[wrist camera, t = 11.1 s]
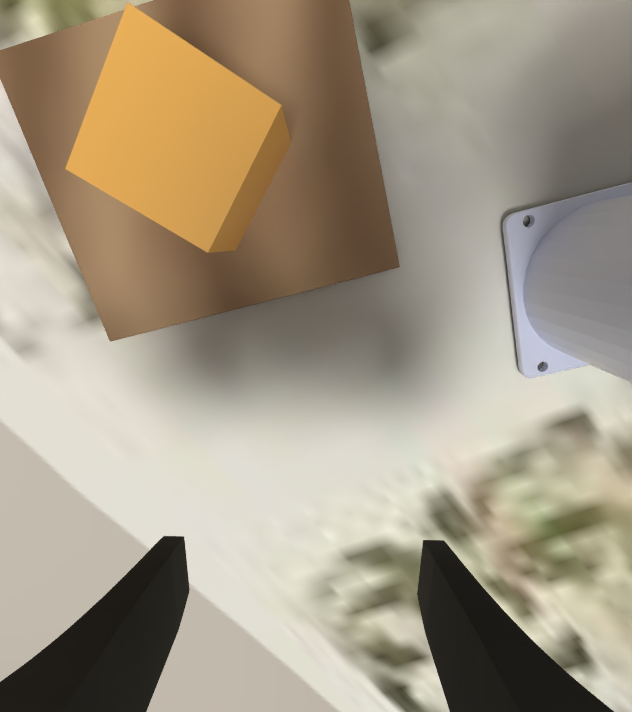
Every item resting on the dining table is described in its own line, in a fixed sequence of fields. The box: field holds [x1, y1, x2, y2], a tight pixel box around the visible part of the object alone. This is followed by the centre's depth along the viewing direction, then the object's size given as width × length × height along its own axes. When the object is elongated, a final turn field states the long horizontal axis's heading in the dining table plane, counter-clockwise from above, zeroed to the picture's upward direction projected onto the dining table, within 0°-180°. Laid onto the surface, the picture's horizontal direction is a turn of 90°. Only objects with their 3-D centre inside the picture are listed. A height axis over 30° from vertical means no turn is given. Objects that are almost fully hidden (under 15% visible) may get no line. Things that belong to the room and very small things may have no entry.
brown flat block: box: [0, 0, 400, 341], centre depth 15 cm, size 14×12×4 cm
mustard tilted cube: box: [65, 2, 291, 253], centre depth 14 cm, size 5×5×4 cm
